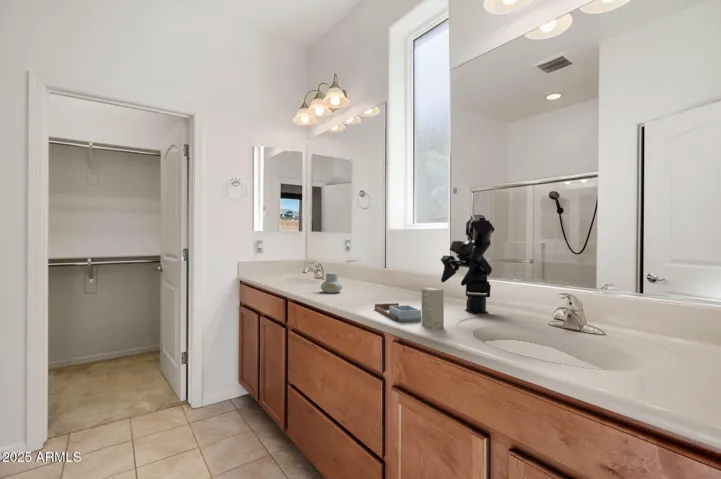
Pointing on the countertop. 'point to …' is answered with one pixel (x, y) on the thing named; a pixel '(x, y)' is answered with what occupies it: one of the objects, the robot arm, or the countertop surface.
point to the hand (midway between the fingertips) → (451, 283)
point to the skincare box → (432, 308)
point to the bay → (383, 307)
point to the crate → (405, 313)
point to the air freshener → (331, 283)
